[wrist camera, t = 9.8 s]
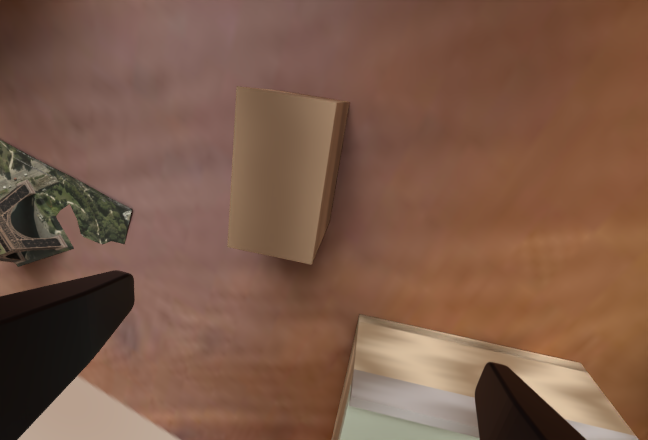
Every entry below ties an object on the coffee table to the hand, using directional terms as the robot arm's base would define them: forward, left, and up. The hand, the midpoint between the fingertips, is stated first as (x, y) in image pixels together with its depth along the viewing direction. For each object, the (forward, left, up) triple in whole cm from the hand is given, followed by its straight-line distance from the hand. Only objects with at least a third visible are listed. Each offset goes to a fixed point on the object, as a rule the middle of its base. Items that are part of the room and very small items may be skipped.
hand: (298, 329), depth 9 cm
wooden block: (+3, -2, -13) cm, 13 cm away
